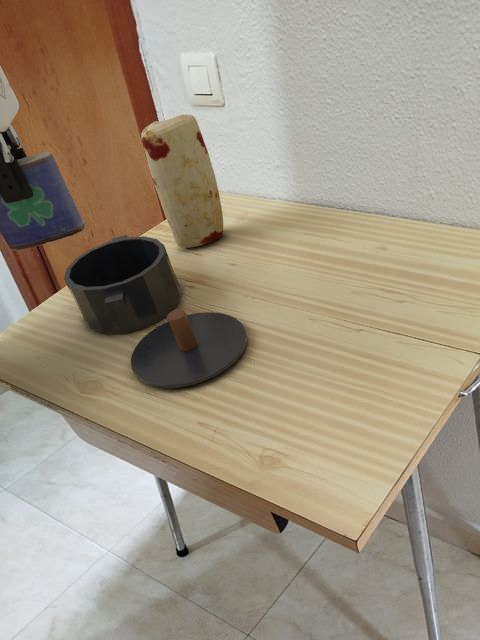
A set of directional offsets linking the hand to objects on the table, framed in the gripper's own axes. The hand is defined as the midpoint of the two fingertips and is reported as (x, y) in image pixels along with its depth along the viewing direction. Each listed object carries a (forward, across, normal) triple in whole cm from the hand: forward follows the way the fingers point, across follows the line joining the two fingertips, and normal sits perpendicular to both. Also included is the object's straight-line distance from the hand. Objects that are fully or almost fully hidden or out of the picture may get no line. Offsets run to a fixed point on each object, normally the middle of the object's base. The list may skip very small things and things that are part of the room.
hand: (22, 191), depth 67 cm
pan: (+22, +10, -4) cm, 25 cm away
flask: (+6, 0, 0) cm, 6 cm away
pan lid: (+22, -6, -12) cm, 26 cm away
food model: (+23, +26, -16) cm, 38 cm away
